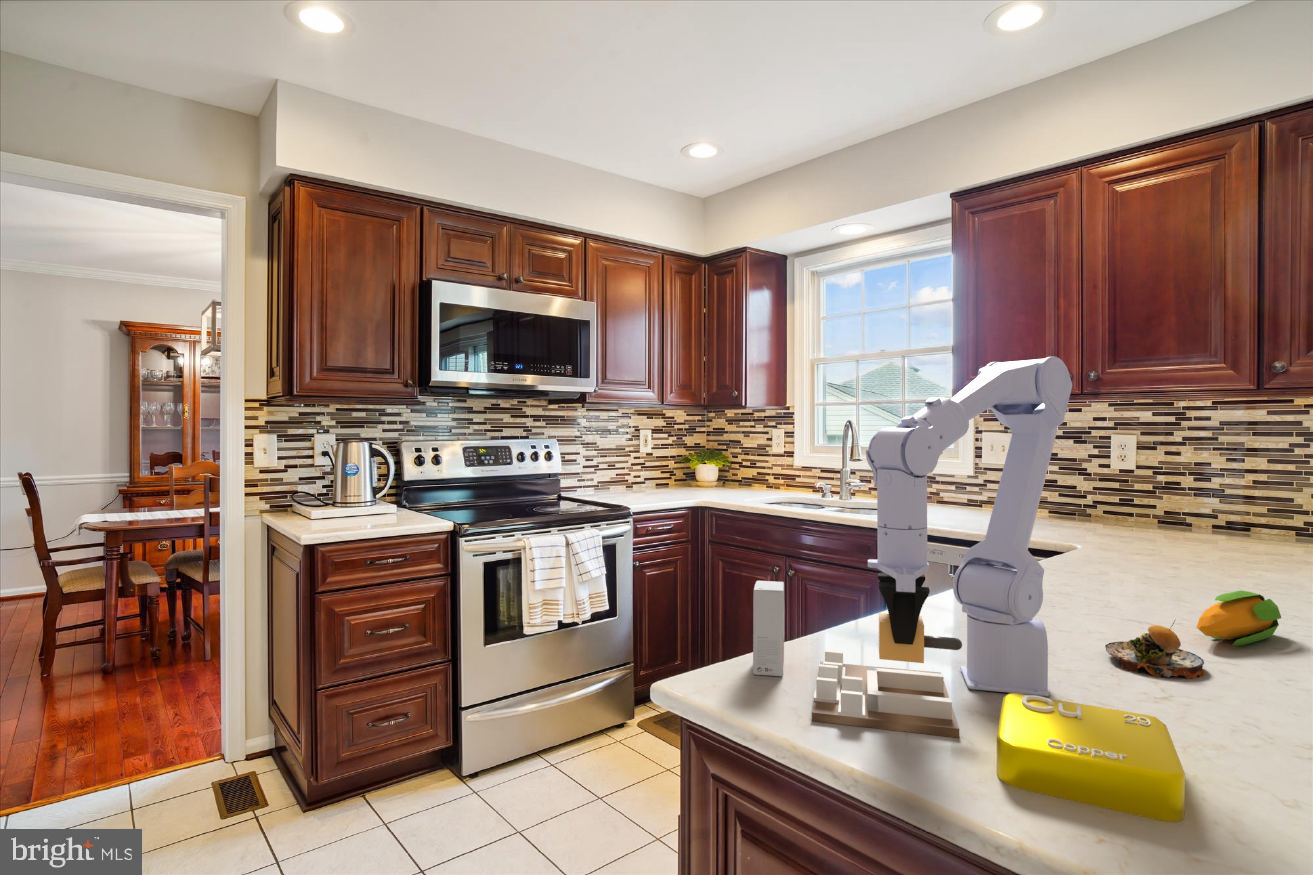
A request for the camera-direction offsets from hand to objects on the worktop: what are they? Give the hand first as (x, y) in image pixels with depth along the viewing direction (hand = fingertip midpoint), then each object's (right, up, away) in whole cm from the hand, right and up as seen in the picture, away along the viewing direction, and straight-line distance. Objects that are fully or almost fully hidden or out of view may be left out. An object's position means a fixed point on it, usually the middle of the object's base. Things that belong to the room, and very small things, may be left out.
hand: (902, 637), depth 84 cm
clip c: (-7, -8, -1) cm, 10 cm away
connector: (+2, -2, -1) cm, 3 cm away
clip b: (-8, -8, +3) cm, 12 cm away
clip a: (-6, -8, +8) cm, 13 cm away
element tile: (+13, -10, -14) cm, 22 cm away
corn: (+63, -8, +26) cm, 68 cm away
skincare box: (-14, -9, +14) cm, 22 cm away
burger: (+42, -9, +16) cm, 45 cm away
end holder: (+1, -8, 0) cm, 8 cm away
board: (-2, -9, +3) cm, 9 cm away
